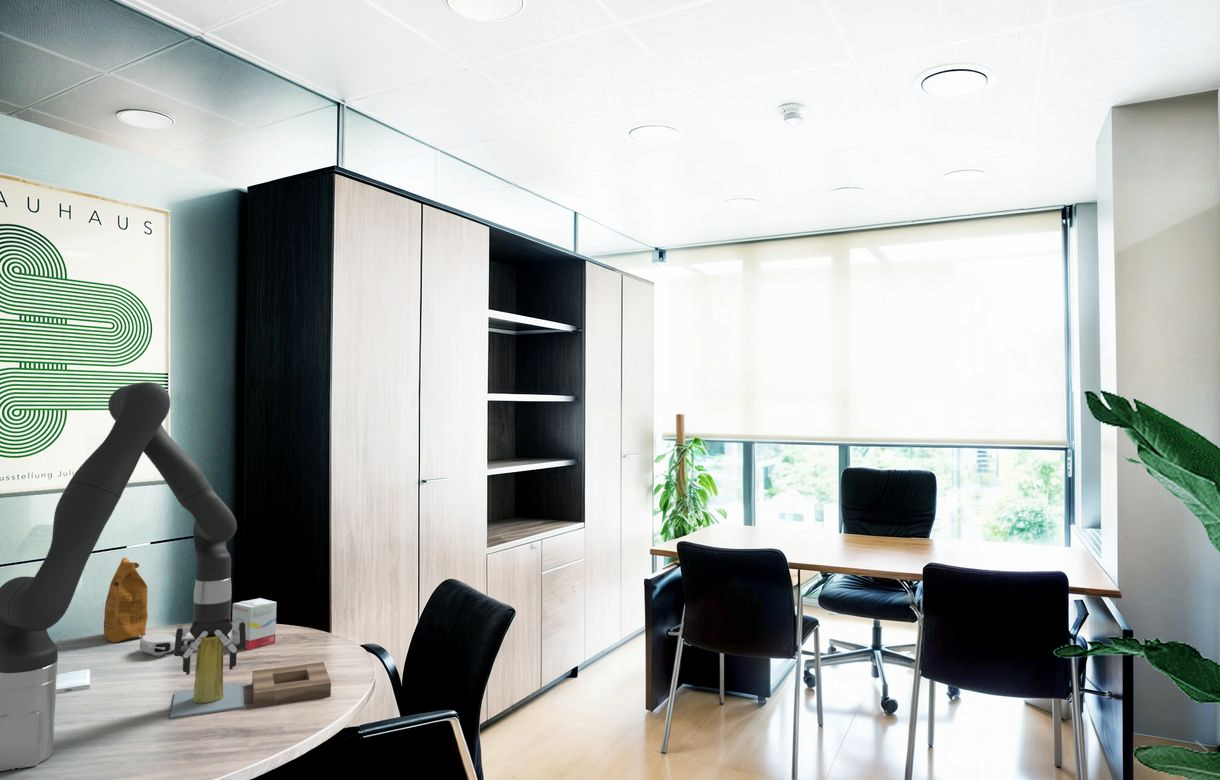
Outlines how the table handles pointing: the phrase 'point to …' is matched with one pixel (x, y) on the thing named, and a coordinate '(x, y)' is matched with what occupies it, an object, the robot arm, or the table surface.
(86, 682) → the hard drive
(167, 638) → the robot toy
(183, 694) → the mat
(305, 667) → the pocket block
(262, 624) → the ink box
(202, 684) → the vase
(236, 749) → the table surface
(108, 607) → the coffee package
